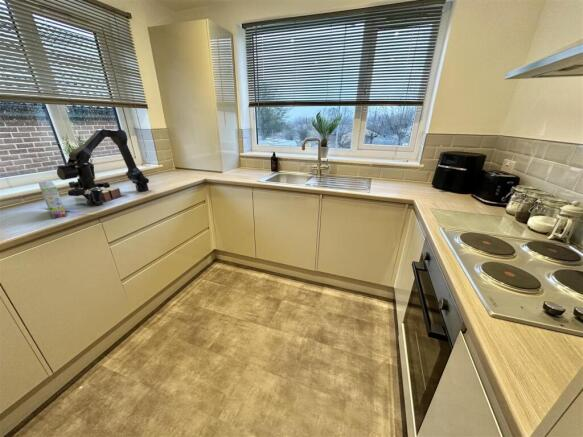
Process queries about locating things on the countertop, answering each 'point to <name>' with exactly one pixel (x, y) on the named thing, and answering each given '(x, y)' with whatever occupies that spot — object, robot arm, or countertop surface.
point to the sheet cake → (113, 191)
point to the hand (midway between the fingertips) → (95, 203)
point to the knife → (85, 201)
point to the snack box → (52, 199)
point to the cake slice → (103, 195)
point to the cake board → (113, 198)
